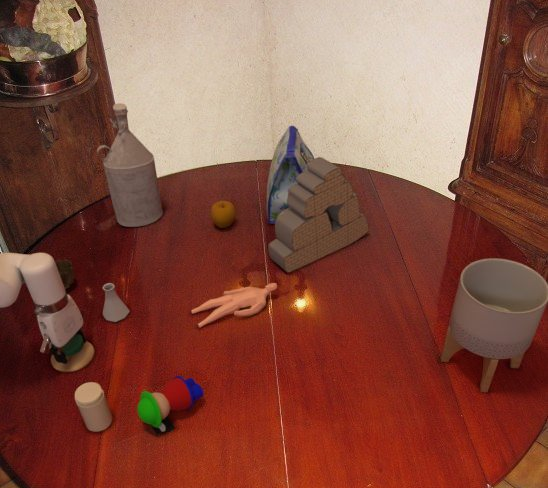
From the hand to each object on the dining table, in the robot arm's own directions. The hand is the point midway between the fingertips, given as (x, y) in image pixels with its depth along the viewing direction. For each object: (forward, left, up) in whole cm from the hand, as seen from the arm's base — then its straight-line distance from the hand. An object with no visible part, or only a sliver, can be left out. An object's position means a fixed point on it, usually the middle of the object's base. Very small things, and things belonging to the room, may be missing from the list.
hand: (71, 351), depth 145 cm
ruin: (+72, +37, -2) cm, 81 cm away
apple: (+43, +54, -2) cm, 69 cm away
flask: (+10, +15, -2) cm, 18 cm away
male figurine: (+44, +12, -2) cm, 46 cm away
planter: (+103, -18, -2) cm, 104 cm away
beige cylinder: (+9, -22, -2) cm, 24 cm away
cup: (-6, +29, -2) cm, 30 cm away
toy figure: (+26, -22, -2) cm, 34 cm away
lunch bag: (+67, +61, -2) cm, 91 cm away
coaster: (0, 0, -2) cm, 2 cm away
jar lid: (0, 0, +3) cm, 3 cm away
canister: (+14, +64, -2) cm, 66 cm away
